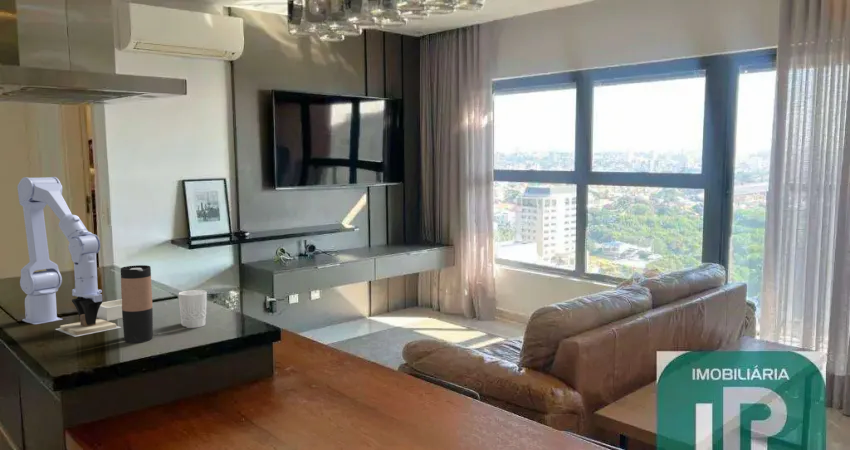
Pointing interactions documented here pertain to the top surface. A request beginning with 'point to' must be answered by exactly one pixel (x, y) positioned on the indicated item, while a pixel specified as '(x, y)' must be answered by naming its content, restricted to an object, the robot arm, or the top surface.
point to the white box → (110, 310)
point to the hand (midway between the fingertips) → (88, 323)
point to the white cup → (193, 308)
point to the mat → (84, 334)
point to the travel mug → (137, 303)
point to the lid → (87, 326)
